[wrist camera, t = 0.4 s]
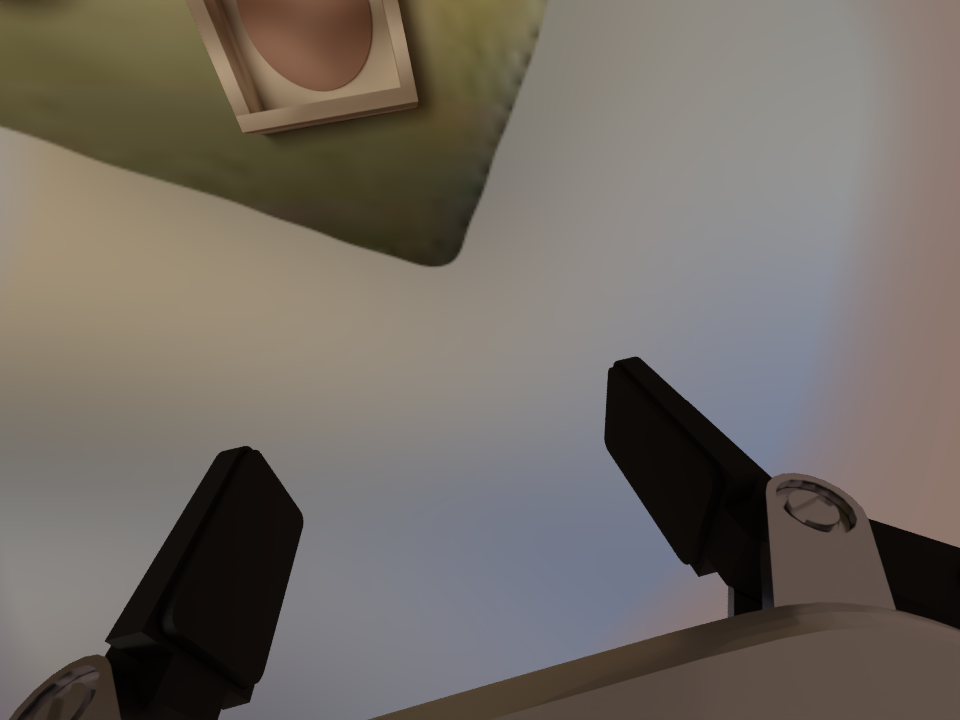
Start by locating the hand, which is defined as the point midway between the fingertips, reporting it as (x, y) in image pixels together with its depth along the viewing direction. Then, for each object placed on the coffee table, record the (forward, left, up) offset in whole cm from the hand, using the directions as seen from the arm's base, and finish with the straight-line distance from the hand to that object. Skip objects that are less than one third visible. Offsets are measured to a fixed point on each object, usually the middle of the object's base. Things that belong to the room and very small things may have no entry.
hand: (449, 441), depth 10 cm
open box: (-16, -4, -31) cm, 35 cm away
